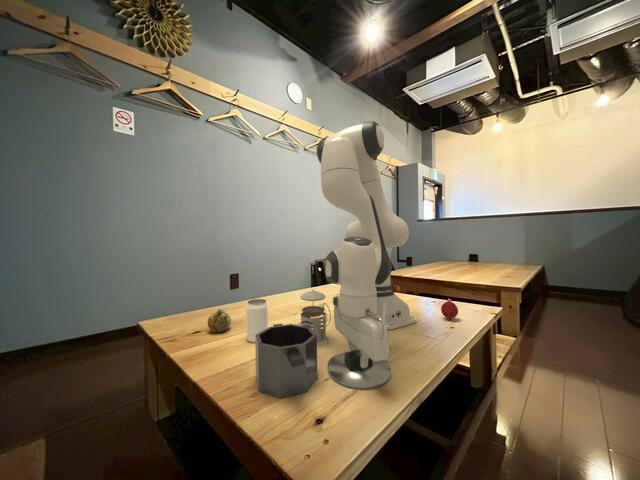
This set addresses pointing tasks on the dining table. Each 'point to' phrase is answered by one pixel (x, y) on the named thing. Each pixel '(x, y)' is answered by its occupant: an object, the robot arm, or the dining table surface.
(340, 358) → the lid
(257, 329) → the can
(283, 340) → the pot
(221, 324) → the onion
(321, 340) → the french press
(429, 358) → the dining table surface
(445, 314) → the onion
